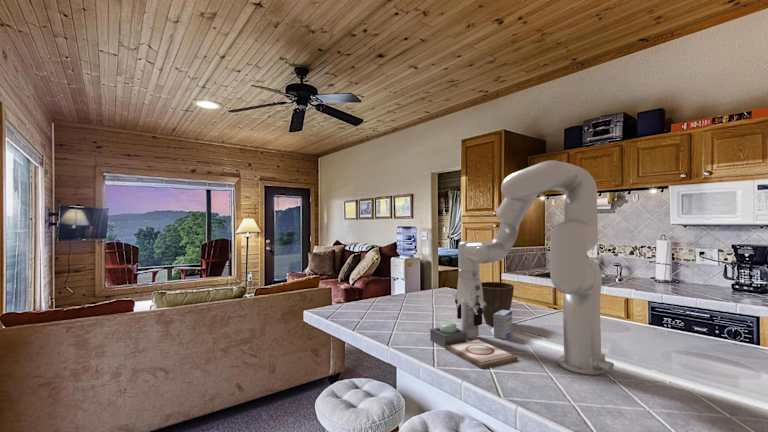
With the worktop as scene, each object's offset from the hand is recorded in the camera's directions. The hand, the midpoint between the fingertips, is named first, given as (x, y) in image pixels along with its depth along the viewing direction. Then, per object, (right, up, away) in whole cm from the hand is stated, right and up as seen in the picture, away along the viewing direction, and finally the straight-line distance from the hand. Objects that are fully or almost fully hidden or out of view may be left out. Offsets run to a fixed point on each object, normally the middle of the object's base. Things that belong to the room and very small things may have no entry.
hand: (469, 321), depth 134 cm
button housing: (-9, -6, -5) cm, 11 cm away
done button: (-9, -3, -5) cm, 10 cm away
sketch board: (-1, -6, -17) cm, 18 cm away
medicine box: (+13, -6, +1) cm, 14 cm away
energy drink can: (0, -6, 0) cm, 6 cm away
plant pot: (+15, -6, +16) cm, 23 cm away
